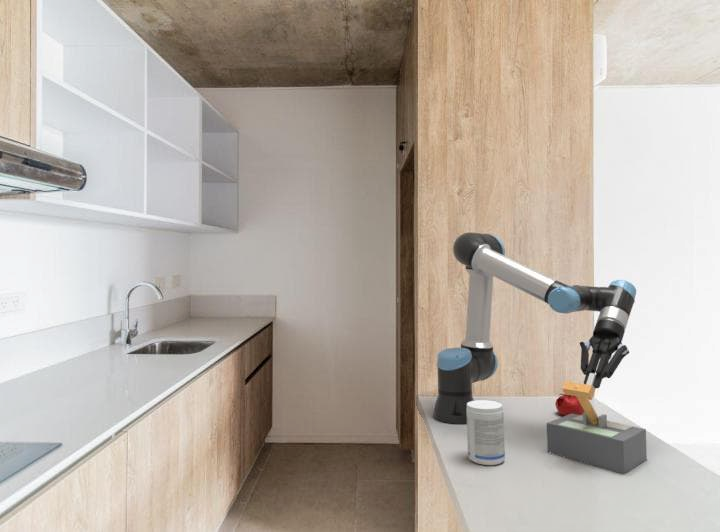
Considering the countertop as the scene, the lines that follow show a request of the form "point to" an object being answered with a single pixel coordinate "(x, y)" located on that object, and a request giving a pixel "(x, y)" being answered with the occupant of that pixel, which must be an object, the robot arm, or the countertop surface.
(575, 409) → the pomegranate
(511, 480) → the countertop surface
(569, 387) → the lever
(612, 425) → the box
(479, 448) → the supplement tub
